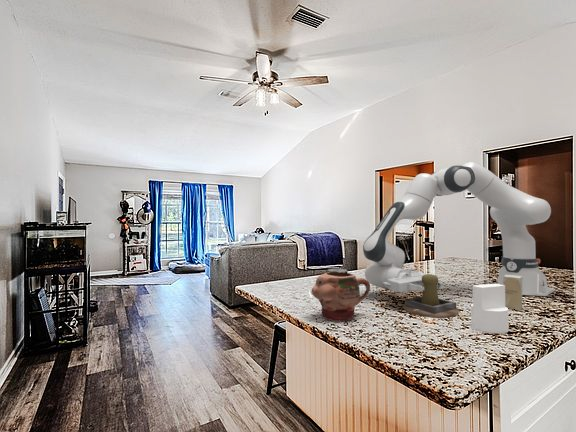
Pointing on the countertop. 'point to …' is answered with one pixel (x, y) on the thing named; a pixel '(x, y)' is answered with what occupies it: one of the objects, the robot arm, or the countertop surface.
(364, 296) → the sculpted clay mug
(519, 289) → the box
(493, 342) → the countertop surface
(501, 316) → the base with upright slab
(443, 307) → the base
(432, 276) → the cork
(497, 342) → the countertop surface
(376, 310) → the countertop surface
